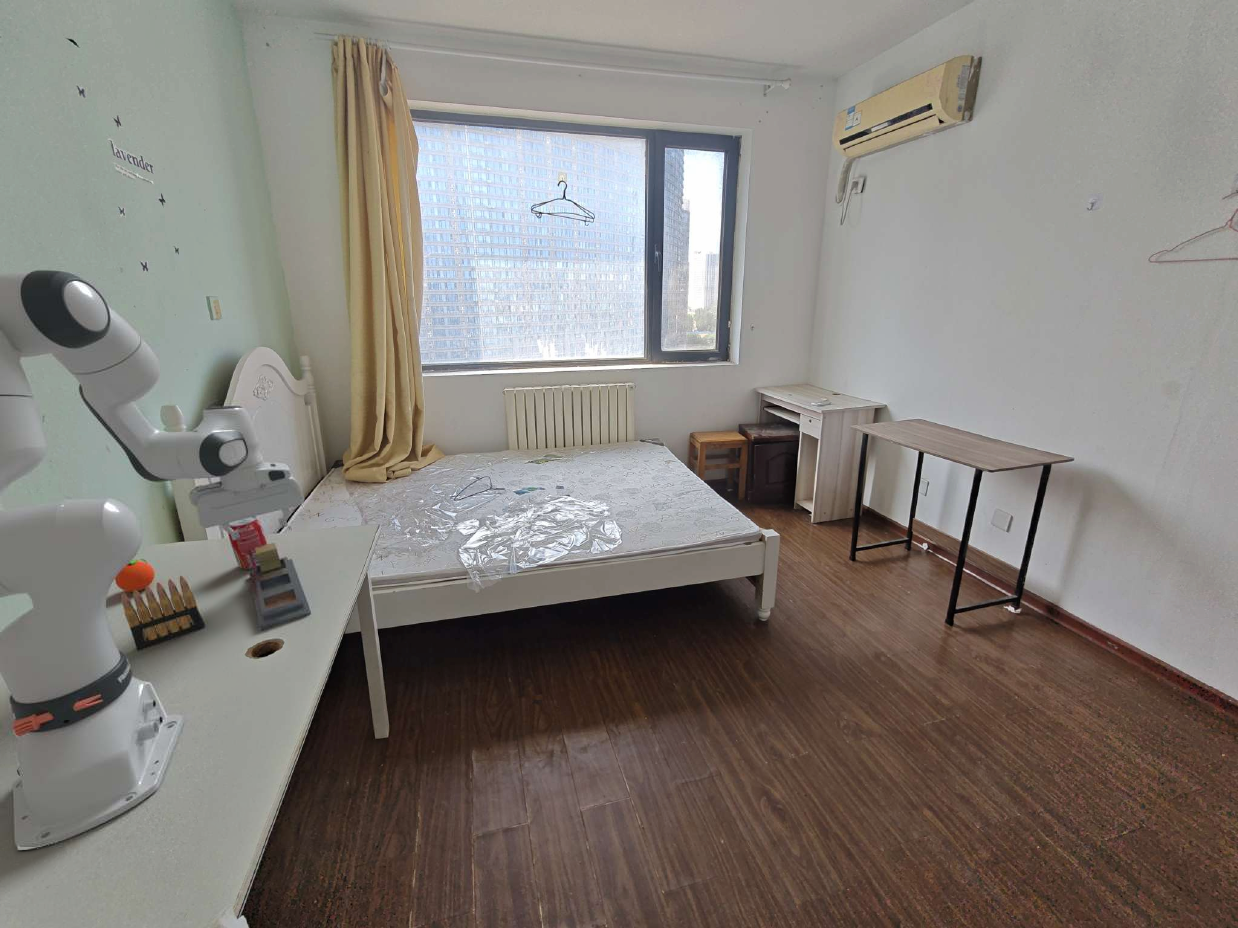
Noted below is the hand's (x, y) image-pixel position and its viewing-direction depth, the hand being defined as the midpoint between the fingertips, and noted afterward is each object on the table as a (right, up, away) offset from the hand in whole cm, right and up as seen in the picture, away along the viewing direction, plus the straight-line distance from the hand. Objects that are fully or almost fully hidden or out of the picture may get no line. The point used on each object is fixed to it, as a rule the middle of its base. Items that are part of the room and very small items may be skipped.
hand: (260, 532), depth 126 cm
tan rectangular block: (+1, -10, +3) cm, 10 cm away
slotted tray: (+6, -13, -3) cm, 15 cm away
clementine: (-30, -14, +3) cm, 33 cm away
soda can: (-9, -10, +11) cm, 17 cm away
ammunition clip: (-7, -19, -17) cm, 26 cm away
